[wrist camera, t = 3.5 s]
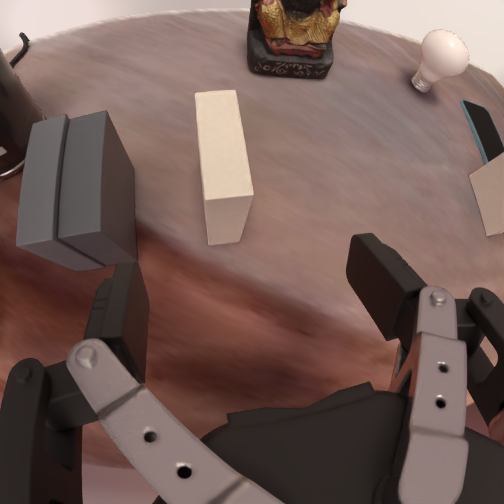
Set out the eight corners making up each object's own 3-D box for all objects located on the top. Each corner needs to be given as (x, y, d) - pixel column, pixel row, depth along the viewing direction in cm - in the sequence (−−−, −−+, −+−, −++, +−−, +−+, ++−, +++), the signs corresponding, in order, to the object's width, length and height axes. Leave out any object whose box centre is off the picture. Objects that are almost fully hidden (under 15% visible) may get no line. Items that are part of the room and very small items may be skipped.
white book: (208, 245, 26) (204, 200, 16) (199, 165, 27) (194, 92, 17) (239, 242, 26) (254, 195, 16) (228, 162, 27) (235, 89, 18)
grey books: (75, 271, 24) (15, 246, 14) (77, 177, 25) (32, 123, 16) (138, 263, 25) (97, 232, 15) (134, 167, 26) (105, 103, 17)
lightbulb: (413, 67, 34) (448, 19, 24) (442, 100, 34) (484, 55, 23) (389, 75, 33) (427, 20, 22) (421, 110, 32) (467, 59, 22)
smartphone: (487, 108, 35) (520, 191, 32) (483, 111, 36) (515, 193, 33) (460, 97, 34) (495, 186, 31) (456, 101, 35) (490, 189, 32)
